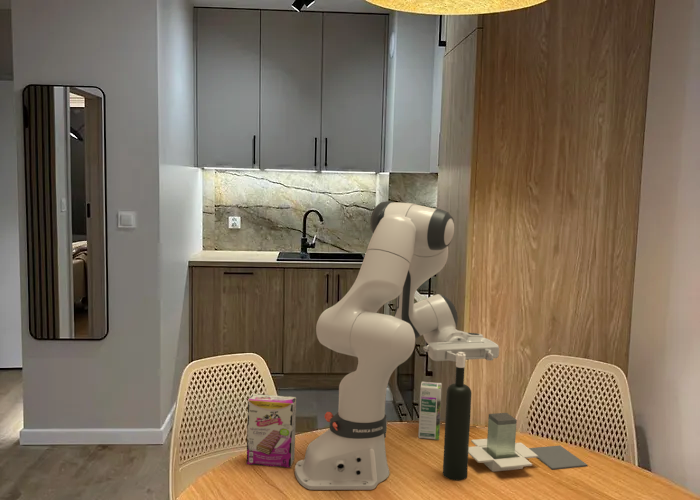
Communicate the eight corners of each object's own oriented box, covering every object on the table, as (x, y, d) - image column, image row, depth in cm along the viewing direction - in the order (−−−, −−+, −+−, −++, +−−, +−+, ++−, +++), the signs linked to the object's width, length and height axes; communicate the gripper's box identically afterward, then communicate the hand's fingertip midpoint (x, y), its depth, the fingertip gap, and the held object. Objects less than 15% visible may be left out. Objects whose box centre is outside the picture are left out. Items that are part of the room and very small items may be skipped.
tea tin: (495, 468, 159) (498, 421, 157) (486, 459, 163) (488, 413, 162) (513, 466, 160) (516, 419, 159) (503, 458, 165) (506, 412, 163)
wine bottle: (438, 471, 156) (444, 350, 153) (459, 468, 158) (465, 348, 155) (450, 482, 151) (456, 356, 147) (471, 478, 152) (478, 354, 149)
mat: (552, 469, 159) (552, 468, 159) (526, 449, 170) (526, 448, 170) (587, 466, 161) (587, 464, 161) (560, 446, 173) (560, 445, 173)
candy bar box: (245, 465, 156) (246, 399, 154) (251, 456, 161) (251, 393, 159) (291, 469, 155) (292, 402, 153) (295, 460, 160) (296, 395, 158)
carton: (485, 480, 152) (485, 468, 151) (456, 452, 167) (457, 441, 167) (546, 474, 156) (547, 462, 156) (512, 447, 172) (513, 436, 171)
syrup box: (417, 438, 176) (420, 386, 174) (419, 430, 181) (421, 380, 180) (439, 440, 175) (441, 388, 173) (439, 432, 180) (442, 381, 179)
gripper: (421, 336, 185) (440, 348, 172) (486, 333, 191) (509, 345, 177) (420, 357, 186) (439, 371, 173) (484, 354, 191) (507, 367, 178)
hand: (475, 358), depth 175 cm, fingers open, 8 cm apart
